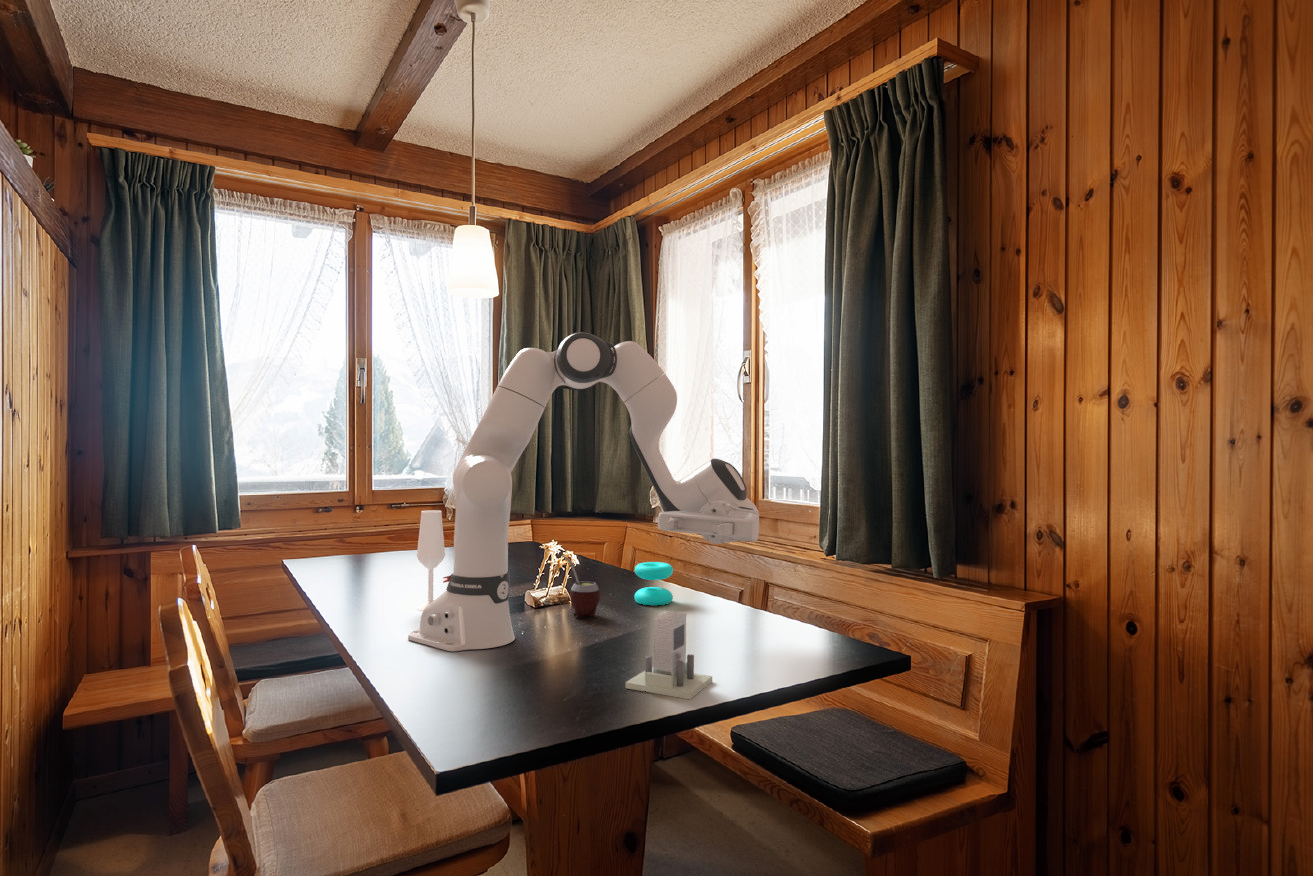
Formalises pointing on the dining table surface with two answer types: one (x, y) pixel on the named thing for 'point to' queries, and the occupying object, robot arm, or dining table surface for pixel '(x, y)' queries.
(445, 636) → the robot arm
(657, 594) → the donuts
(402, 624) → the dining table surface
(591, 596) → the mate gourd
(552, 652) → the dining table surface
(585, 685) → the dining table surface
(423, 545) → the champagne flute
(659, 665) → the block
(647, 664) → the peg board
